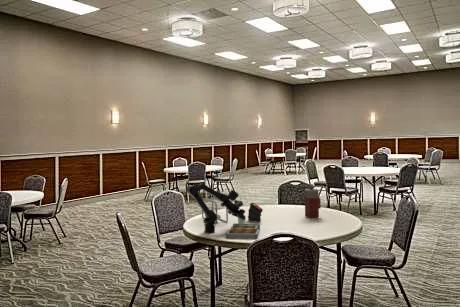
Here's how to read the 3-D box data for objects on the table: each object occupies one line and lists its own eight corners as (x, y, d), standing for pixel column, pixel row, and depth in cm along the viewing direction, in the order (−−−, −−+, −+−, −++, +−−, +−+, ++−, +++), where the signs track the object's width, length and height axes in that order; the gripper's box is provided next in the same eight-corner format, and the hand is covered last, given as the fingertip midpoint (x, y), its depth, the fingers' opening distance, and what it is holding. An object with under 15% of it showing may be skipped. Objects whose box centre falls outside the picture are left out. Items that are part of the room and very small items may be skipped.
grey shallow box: (226, 238, 273) (226, 233, 273) (229, 233, 286) (229, 229, 286) (257, 238, 269) (256, 234, 269) (259, 233, 282) (259, 229, 282)
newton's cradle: (228, 223, 322) (227, 201, 321) (216, 224, 317) (215, 202, 316) (213, 216, 349) (212, 196, 348) (202, 218, 344) (201, 197, 343)
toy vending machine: (321, 217, 334) (321, 184, 333) (308, 218, 332) (308, 184, 331) (317, 215, 342) (316, 183, 341) (305, 216, 341) (304, 183, 340)
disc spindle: (239, 228, 300) (239, 216, 300) (237, 227, 305) (236, 215, 305) (246, 227, 302) (246, 216, 302) (244, 226, 307) (243, 214, 307)
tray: (229, 234, 282) (229, 228, 282) (233, 229, 297) (233, 223, 297) (257, 234, 278) (257, 228, 278) (260, 229, 294) (259, 223, 293)
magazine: (247, 217, 333) (253, 202, 328) (259, 226, 325) (264, 210, 320) (244, 218, 330) (250, 202, 325) (256, 227, 322) (262, 211, 317)
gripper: (242, 199, 293) (255, 212, 298) (230, 196, 309) (243, 208, 315) (233, 210, 289) (247, 224, 295) (222, 207, 306) (235, 219, 311)
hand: (243, 218), depth 304 cm, fingers closed on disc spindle, 6 cm apart
